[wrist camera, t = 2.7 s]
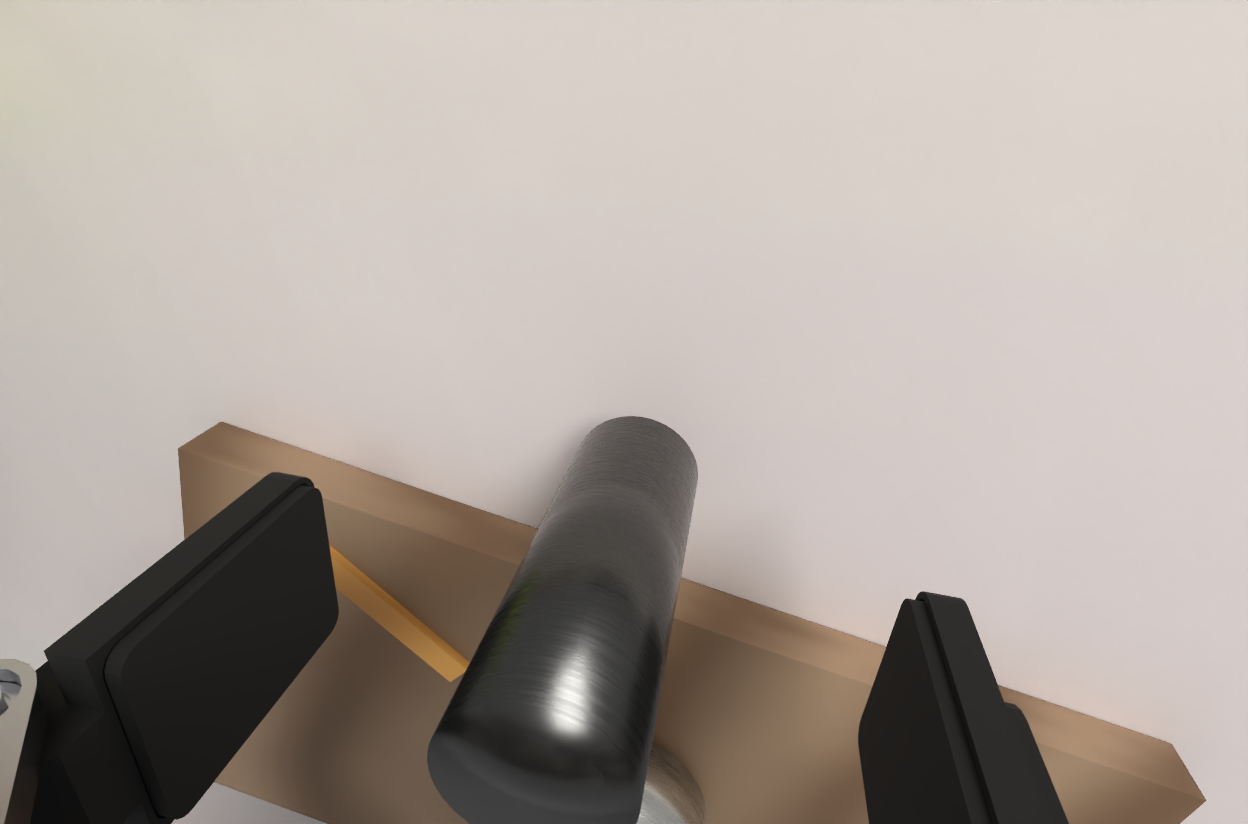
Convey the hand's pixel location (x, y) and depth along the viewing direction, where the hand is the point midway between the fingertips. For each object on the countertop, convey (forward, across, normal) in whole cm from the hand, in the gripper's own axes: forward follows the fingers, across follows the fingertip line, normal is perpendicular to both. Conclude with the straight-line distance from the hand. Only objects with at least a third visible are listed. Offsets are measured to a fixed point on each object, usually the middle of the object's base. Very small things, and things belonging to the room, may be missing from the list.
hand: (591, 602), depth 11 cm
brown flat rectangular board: (+6, 0, +11) cm, 12 cm away
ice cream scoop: (+4, 0, +6) cm, 8 cm away
